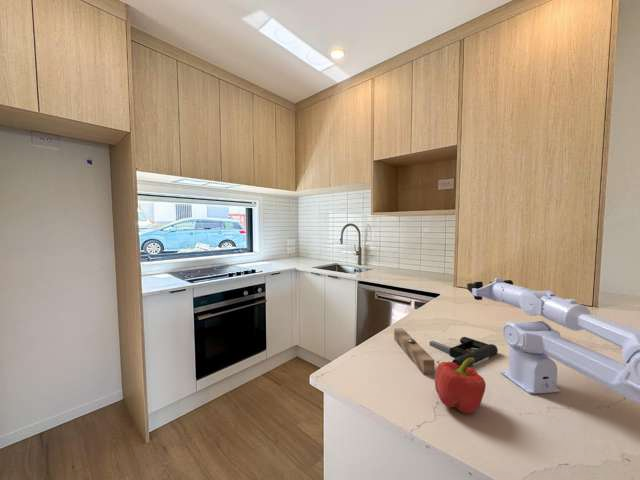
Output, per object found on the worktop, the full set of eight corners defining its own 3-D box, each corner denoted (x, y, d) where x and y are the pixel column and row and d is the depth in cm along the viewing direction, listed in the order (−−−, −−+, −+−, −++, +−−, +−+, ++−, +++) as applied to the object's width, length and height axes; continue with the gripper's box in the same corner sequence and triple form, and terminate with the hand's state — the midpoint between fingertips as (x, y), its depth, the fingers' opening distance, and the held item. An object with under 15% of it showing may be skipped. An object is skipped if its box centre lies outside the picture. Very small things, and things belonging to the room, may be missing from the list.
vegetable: (453, 384, 68) (454, 347, 67) (496, 409, 59) (497, 366, 58) (423, 398, 63) (424, 357, 62) (465, 428, 54) (467, 380, 53)
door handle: (417, 343, 87) (464, 362, 73) (455, 331, 97) (503, 346, 83) (417, 353, 87) (465, 374, 73) (455, 340, 97) (503, 356, 83)
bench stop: (433, 373, 73) (434, 357, 72) (423, 374, 72) (423, 358, 72) (402, 339, 95) (402, 326, 94) (393, 339, 94) (394, 326, 94)
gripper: (535, 279, 75) (500, 272, 88) (485, 281, 74) (457, 275, 88) (536, 304, 75) (500, 294, 88) (486, 307, 74) (458, 296, 88)
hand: (479, 286), depth 88 cm, fingers open, 7 cm apart
